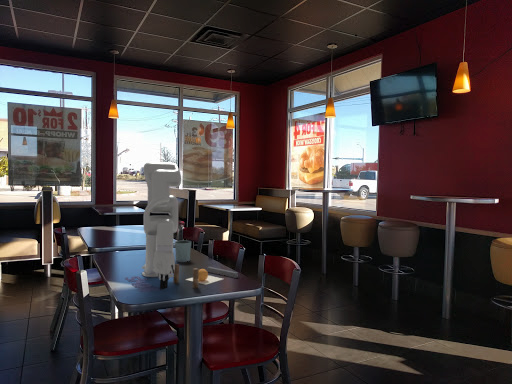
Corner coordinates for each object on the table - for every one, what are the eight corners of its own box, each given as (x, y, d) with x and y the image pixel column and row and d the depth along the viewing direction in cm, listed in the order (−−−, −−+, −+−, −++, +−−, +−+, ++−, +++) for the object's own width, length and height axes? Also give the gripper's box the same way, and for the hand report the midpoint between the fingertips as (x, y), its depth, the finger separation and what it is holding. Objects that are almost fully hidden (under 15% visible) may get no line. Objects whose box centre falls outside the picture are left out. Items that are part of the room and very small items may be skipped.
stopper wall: (207, 271, 216) (207, 267, 216) (209, 271, 218) (209, 266, 217) (235, 277, 205) (235, 273, 205) (237, 277, 206) (237, 272, 206)
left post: (172, 282, 191) (172, 264, 191) (176, 281, 193) (176, 264, 193) (176, 283, 190) (176, 265, 190) (179, 282, 192) (180, 264, 192)
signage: (123, 277, 197) (142, 275, 203) (123, 278, 197) (142, 276, 203) (140, 291, 174) (161, 288, 180) (140, 293, 174) (161, 290, 180)
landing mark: (185, 279, 198) (185, 279, 198) (203, 274, 209) (203, 274, 209) (206, 284, 190) (206, 284, 190) (223, 279, 201) (224, 278, 201)
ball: (200, 266, 200) (203, 276, 202) (192, 271, 196) (195, 282, 197) (208, 267, 196) (211, 278, 198) (200, 273, 192) (203, 284, 194)
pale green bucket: (192, 259, 248) (193, 240, 247) (188, 262, 238) (188, 243, 237) (177, 258, 249) (177, 240, 248) (172, 261, 239) (172, 242, 238)
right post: (191, 287, 184) (192, 269, 184) (195, 286, 186) (195, 268, 186) (195, 288, 182) (196, 269, 182) (199, 287, 185) (199, 268, 184)
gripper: (147, 247, 177) (146, 287, 177) (170, 251, 168) (169, 293, 169) (159, 245, 183) (158, 283, 184) (182, 249, 175) (181, 289, 175)
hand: (163, 288), depth 176 cm, fingers closed
